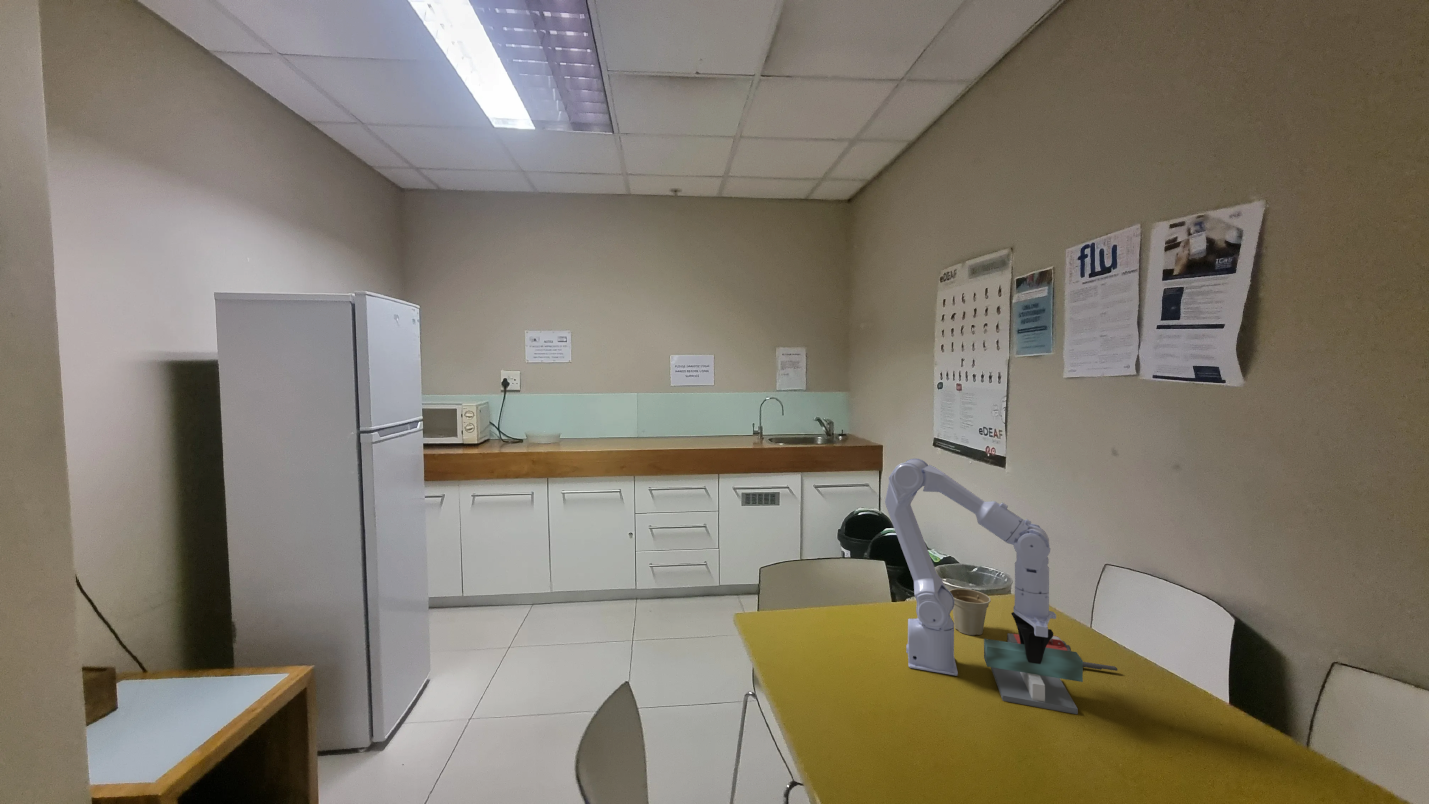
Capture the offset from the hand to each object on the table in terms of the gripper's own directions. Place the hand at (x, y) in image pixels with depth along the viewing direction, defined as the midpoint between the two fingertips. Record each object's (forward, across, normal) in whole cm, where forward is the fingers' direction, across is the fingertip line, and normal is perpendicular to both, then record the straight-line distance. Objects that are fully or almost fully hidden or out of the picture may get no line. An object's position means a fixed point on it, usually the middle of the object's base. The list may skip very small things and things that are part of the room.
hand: (1031, 657), depth 98 cm
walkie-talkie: (+7, +16, -8) cm, 19 cm away
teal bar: (+2, 0, 0) cm, 2 cm away
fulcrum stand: (+6, 0, 0) cm, 6 cm away
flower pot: (+7, +24, +8) cm, 26 cm away
